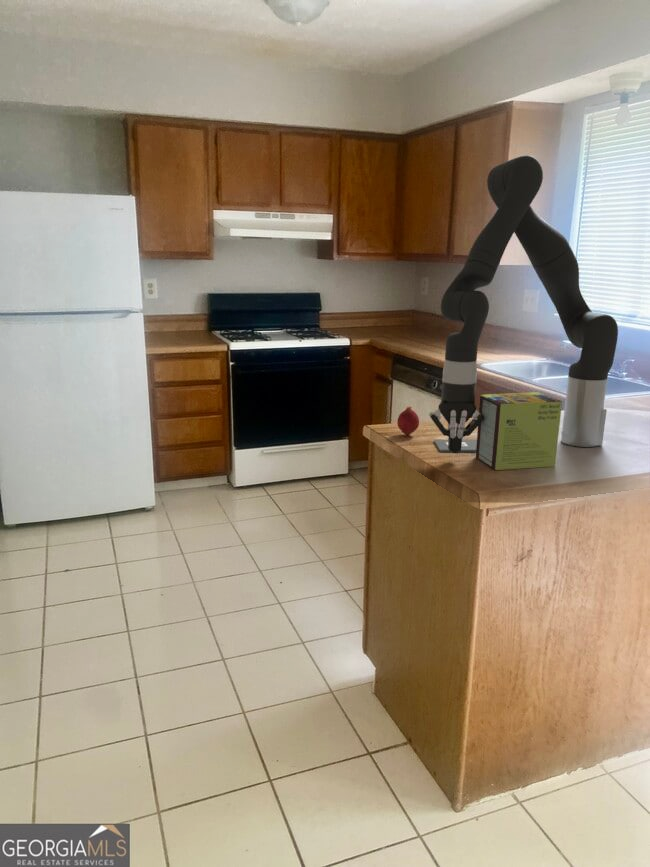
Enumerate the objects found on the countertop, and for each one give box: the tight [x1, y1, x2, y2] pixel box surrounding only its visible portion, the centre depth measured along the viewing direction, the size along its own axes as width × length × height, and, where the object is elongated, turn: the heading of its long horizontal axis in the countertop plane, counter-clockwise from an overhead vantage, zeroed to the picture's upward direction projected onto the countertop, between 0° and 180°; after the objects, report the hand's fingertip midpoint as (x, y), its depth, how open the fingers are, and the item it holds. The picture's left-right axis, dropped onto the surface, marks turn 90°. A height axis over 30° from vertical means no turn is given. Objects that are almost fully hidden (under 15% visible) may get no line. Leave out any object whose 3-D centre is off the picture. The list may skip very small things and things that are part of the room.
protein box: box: [475, 391, 563, 471], centre depth 148 cm, size 10×15×16 cm
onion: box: [396, 405, 420, 436], centre depth 171 cm, size 6×6×8 cm
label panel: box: [433, 438, 477, 453], centre depth 162 cm, size 19×9×1 cm, turn 90°
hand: (454, 452), depth 150 cm, fingers closed
